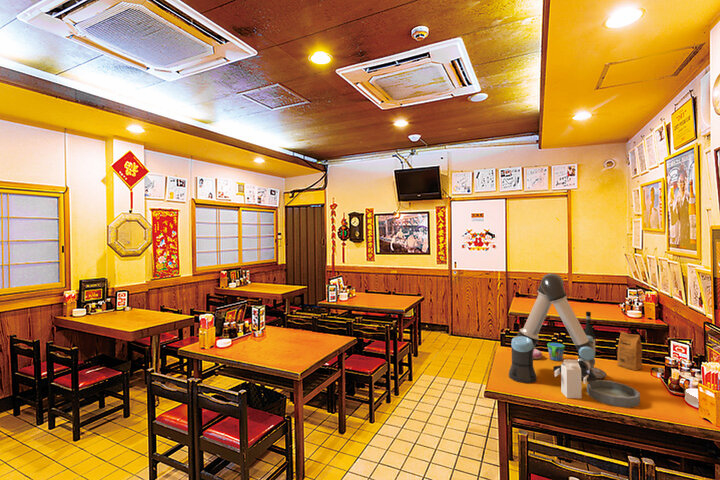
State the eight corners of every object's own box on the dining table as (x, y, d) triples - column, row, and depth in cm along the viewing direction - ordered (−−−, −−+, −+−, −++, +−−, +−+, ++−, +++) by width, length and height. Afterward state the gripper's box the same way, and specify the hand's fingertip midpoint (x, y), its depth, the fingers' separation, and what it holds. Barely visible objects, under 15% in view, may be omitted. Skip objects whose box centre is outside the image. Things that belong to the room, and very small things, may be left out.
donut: (544, 360, 242) (544, 353, 242) (523, 360, 245) (523, 352, 245) (538, 354, 256) (538, 347, 255) (518, 353, 258) (518, 346, 258)
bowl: (596, 404, 179) (595, 395, 179) (582, 386, 200) (581, 378, 200) (647, 409, 173) (647, 400, 173) (627, 390, 194) (627, 382, 194)
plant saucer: (590, 385, 202) (590, 379, 202) (558, 372, 221) (558, 367, 221) (614, 379, 210) (614, 373, 210) (581, 367, 229) (581, 362, 229)
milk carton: (561, 392, 193) (560, 357, 193) (575, 392, 192) (574, 357, 192) (567, 398, 186) (566, 361, 186) (581, 398, 185) (581, 362, 185)
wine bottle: (596, 356, 249) (596, 313, 249) (583, 355, 252) (583, 312, 252) (593, 352, 257) (593, 311, 257) (581, 351, 260) (580, 310, 259)
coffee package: (623, 362, 236) (623, 329, 235) (645, 369, 224) (644, 334, 224) (614, 365, 232) (613, 331, 231) (635, 371, 220) (635, 336, 220)
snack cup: (551, 354, 253) (551, 340, 253) (568, 358, 246) (567, 343, 246) (543, 360, 243) (543, 345, 242) (560, 364, 235) (560, 348, 235)
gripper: (607, 379, 193) (597, 391, 178) (556, 367, 211) (544, 378, 196) (607, 365, 193) (597, 376, 178) (556, 355, 211) (543, 364, 196)
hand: (569, 377), depth 187 cm, fingers open, 13 cm apart
